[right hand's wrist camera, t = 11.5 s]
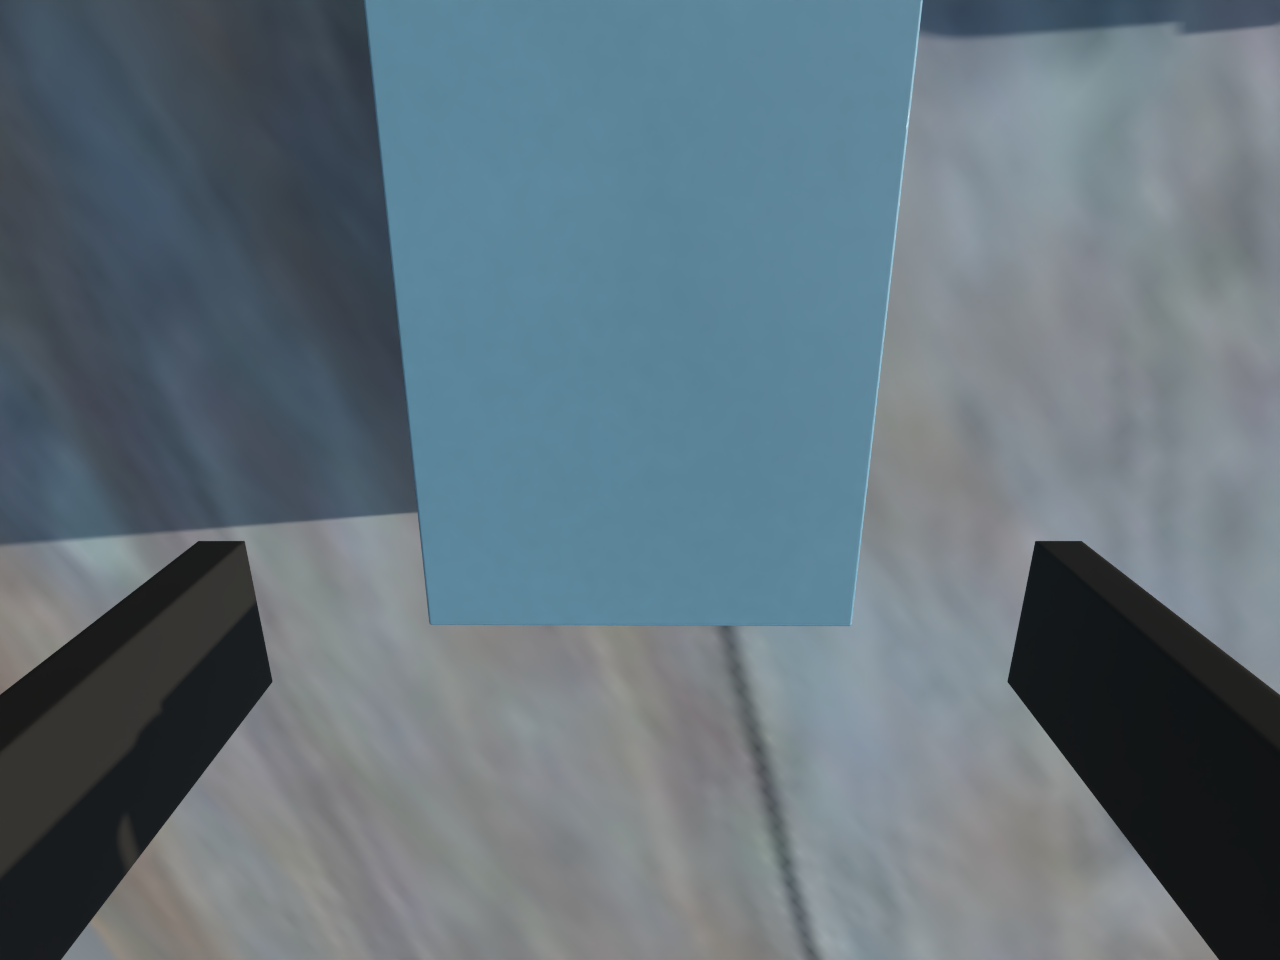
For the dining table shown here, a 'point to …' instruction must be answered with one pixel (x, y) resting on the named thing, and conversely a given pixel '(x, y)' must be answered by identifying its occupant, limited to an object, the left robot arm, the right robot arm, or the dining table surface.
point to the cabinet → (641, 298)
